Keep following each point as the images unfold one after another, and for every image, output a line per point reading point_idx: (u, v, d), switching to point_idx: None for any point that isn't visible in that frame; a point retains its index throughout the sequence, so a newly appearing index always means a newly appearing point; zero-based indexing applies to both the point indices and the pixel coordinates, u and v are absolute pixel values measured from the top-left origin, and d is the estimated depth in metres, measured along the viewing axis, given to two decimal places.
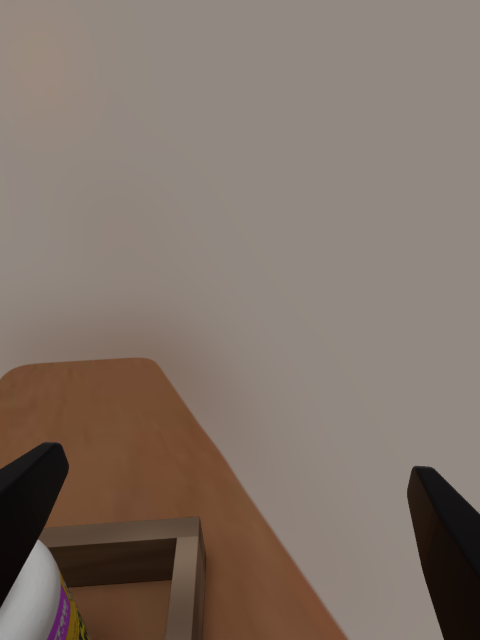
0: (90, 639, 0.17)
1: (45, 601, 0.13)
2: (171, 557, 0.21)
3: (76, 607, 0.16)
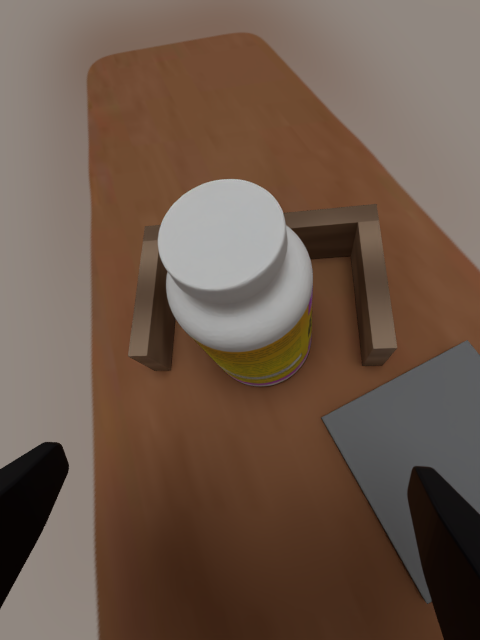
0: None
1: (309, 260, 0.15)
2: (345, 239, 0.23)
3: None
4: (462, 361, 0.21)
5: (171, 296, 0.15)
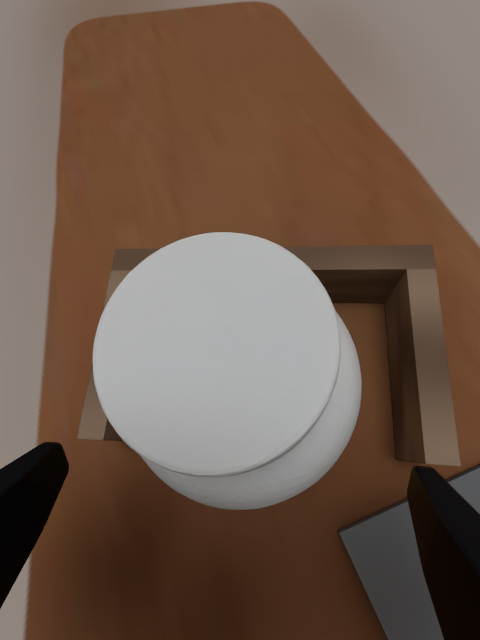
0: None
1: (358, 364, 0.09)
2: (383, 286, 0.17)
3: None
4: None
5: None
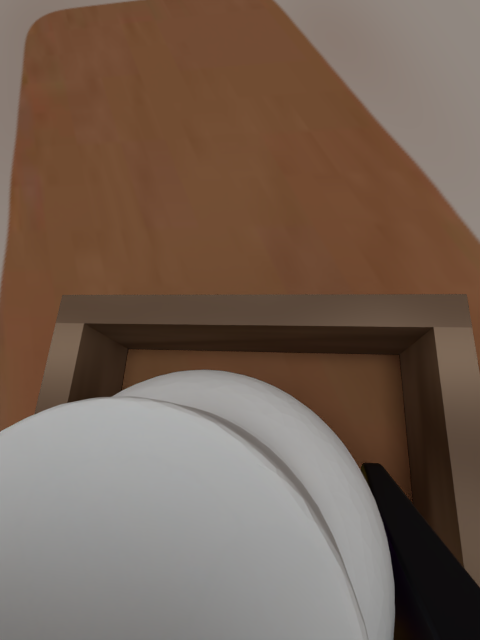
0: None
1: (388, 561, 0.05)
2: (400, 341, 0.14)
3: None
4: None
5: None
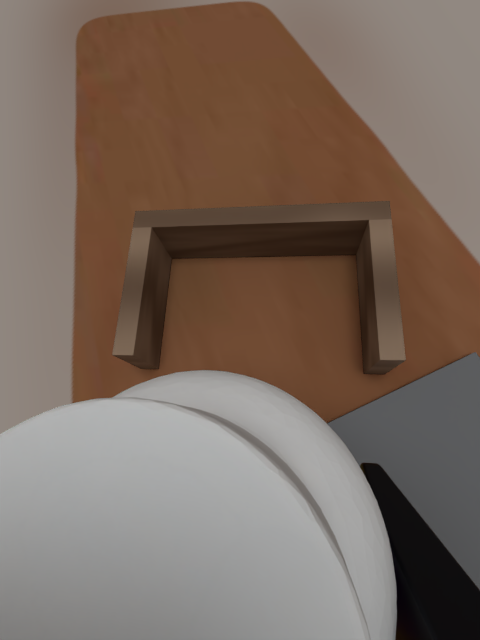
0: None
1: (391, 564, 0.05)
2: (352, 237, 0.22)
3: None
4: (469, 374, 0.20)
5: None
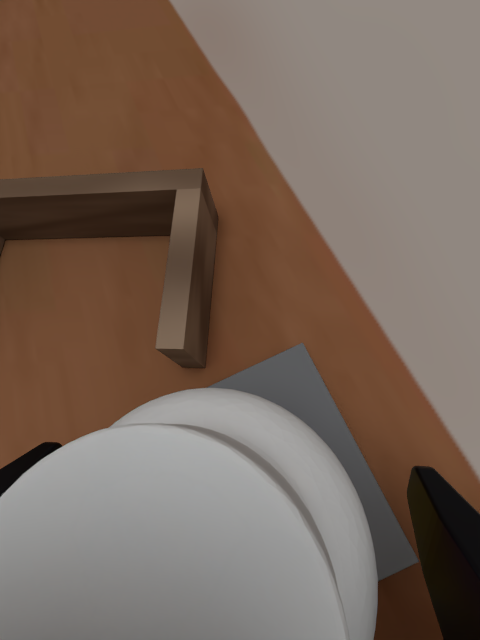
0: None
1: (373, 560, 0.06)
2: None
3: None
4: (291, 368, 0.17)
5: None
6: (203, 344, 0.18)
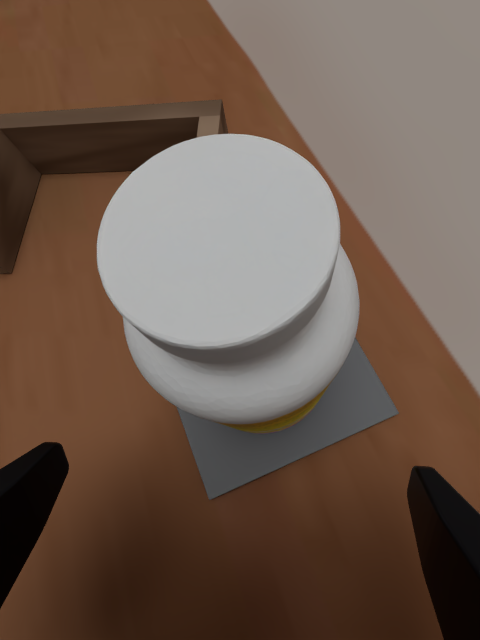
0: None
1: (356, 285, 0.09)
2: None
3: None
4: None
5: (128, 326, 0.09)
6: None
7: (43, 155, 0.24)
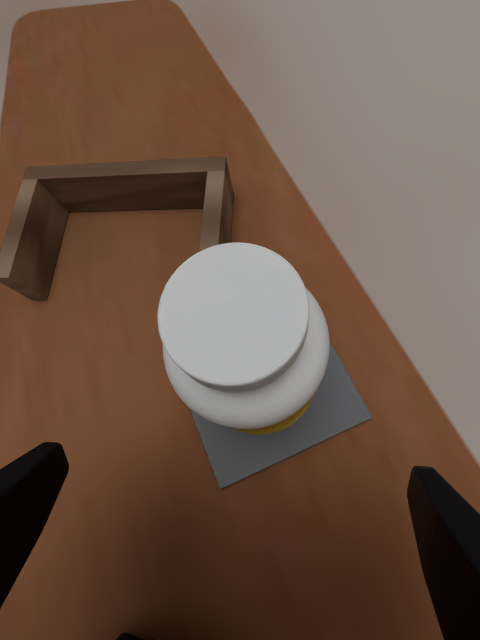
0: None
1: (326, 331, 0.13)
2: (204, 189, 0.26)
3: None
4: None
5: (168, 361, 0.13)
6: None
7: (72, 198, 0.28)
